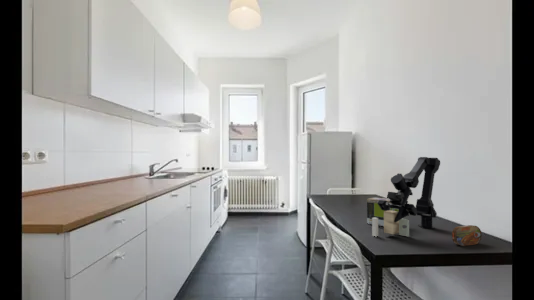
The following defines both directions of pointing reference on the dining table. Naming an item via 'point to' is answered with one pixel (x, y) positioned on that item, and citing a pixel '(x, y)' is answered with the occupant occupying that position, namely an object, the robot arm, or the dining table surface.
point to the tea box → (376, 210)
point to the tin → (466, 235)
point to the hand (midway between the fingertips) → (389, 220)
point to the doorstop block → (391, 223)
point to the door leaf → (404, 227)
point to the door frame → (375, 227)
